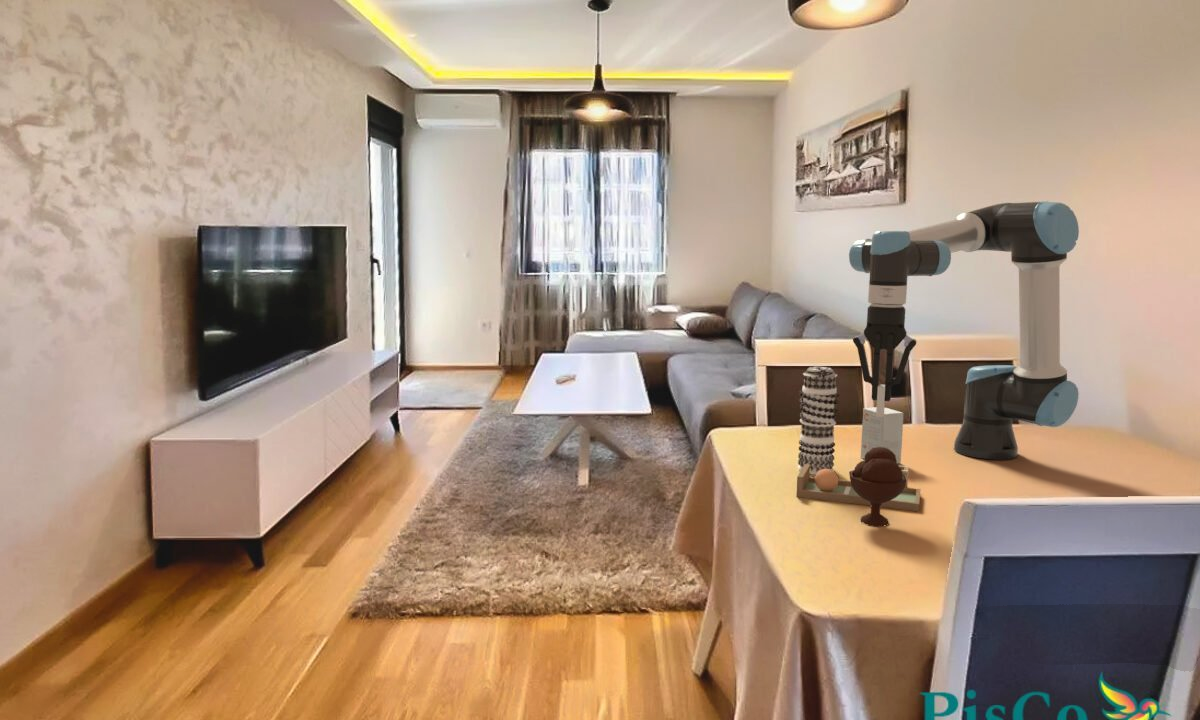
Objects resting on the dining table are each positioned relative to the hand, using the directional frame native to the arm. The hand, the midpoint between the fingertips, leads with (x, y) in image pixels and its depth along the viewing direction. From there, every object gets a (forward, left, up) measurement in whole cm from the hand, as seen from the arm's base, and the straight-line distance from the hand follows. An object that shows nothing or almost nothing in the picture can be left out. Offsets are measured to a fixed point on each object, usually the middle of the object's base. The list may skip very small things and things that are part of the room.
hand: (880, 415), depth 180 cm
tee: (-4, -10, -18) cm, 21 cm away
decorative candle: (+15, -18, -19) cm, 30 cm away
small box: (+1, -32, -19) cm, 37 cm away
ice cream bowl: (-1, +16, -19) cm, 24 cm away
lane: (+4, 0, -18) cm, 19 cm away
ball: (+10, +1, -15) cm, 18 cm away
